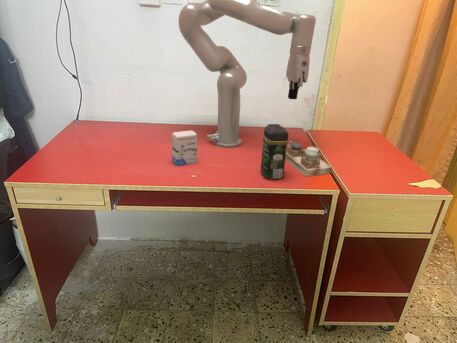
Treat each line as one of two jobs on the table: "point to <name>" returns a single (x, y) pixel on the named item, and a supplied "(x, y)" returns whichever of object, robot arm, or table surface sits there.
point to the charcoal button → (296, 146)
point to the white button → (312, 148)
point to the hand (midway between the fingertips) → (292, 98)
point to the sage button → (311, 155)
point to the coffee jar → (274, 151)
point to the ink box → (184, 147)
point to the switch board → (307, 163)
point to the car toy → (291, 142)
